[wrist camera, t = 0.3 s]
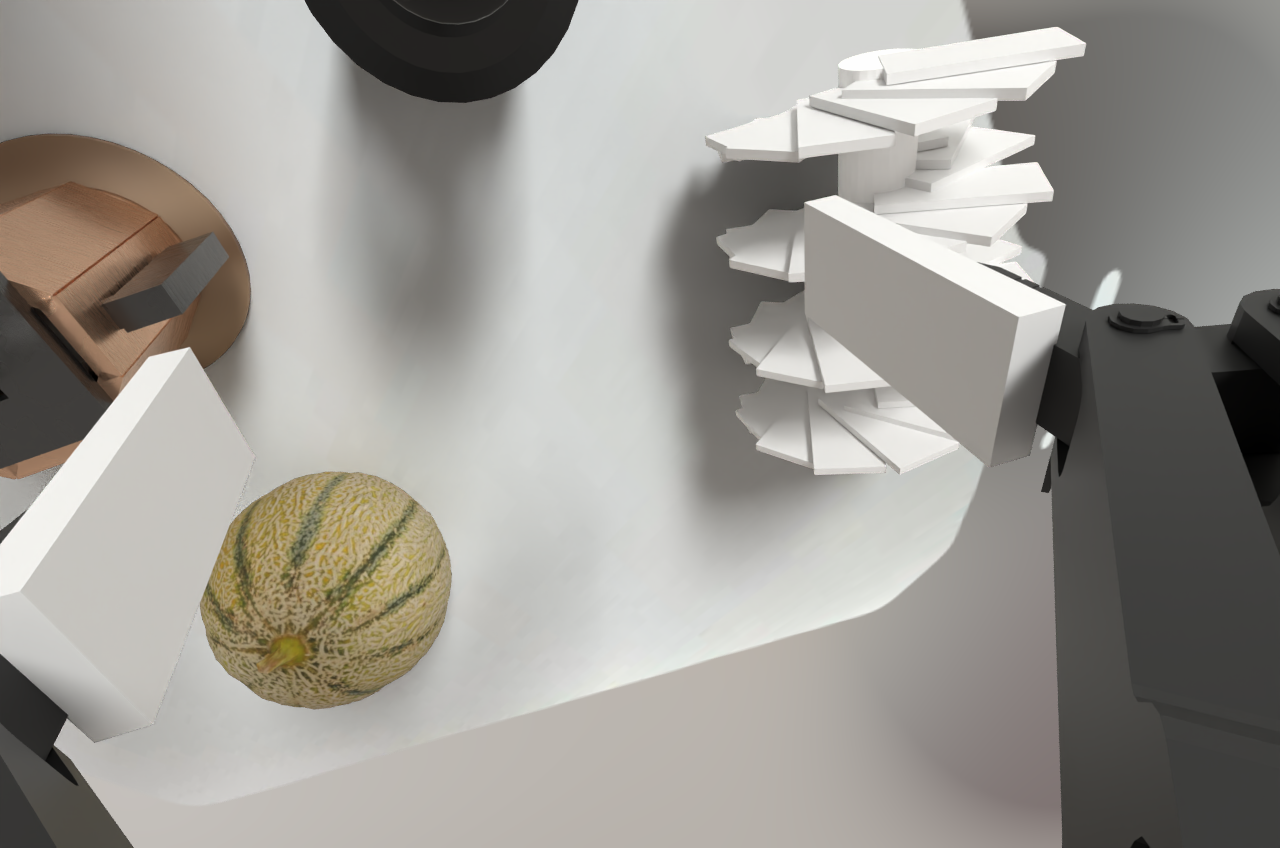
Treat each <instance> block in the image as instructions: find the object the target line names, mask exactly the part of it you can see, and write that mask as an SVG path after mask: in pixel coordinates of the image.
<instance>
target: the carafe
mask: <svg viewBox="0 0 1280 848" xmlns="http://www.w3.org/2000/svg"><path fill="white" fill-rule="evenodd" d="M228 258H229V256H228V254H227V252H226V251H225V249H224V248H223V246H222V245H221V243H220V242H219V240H218V239H217V237H216V235H215V234H214V232H210V233H207V234H204V235H201V236H198V237H195V238H192V239H189V240H186V241H182V240H181V238H180V237H179V236H178V234H177V233H176V232H175V231H174V230H173V229H172V228H171V227H170V226H169V225H168V224H167V223H165V222H164V221H163V219H162V218H161V216H159V217H158V214H156V213H153V212H151V211H150V210H148V209H147V208H145V207H143V206H141V205H140V204H138V203H136V202H134V201H132V200H130V199H128V198H125V197H123V196H121V195H118V194H115V193H112V192H109V191H105V190H101V189H96V188H90V187H86V186H84V185H81V184H78V183H76V182H71V181H70V182H67V183H64V184H61V185H58V186H55V187H52V188H48V189H44V190H40V191H37V192H35V193H32V194H30V195H27V196H24V197H21V198H17V199H14V200H11V201H8V202H5V203H2V204H0V389H1V390H2V391H3V392H4V393H5V394H3V395H0V476H2V477H6V478H11V479H16V478H17V479H21V478H23V477H26V476H29V475H32V474H35V473H38V472H40V471H43V470H46V469H49V468H52V467H54V466H57V465H60V464H63V463H65V462H66V461H67V460H68V458H69V457H70V456H71V454H72V453H73V452H74V451H75V449H76V448H77V447H78V446H79V444H80V443H81V442H82V441H83V439H84V438H85V437H86V436H87V434H88V433H89V432H90V430H91V429H92V428H93V427H94V425H95V424H96V423H97V422H98V420H99V419H100V418H101V417H102V415H103V414H104V413H105V412H106V410H107V409H108V408H109V406H110V405H111V404H112V403H113V401H114V400H115V399H116V398H117V396H118V395H119V394H120V393H121V391H122V390H123V389H124V388H125V386H126V385H127V384H128V383H129V381H130V380H131V379H132V377H133V376H134V375H135V374H136V372H137V371H138V370H139V369H140V367H141V366H142V365H143V364H144V362H145V361H146V360H147V359H148V357H150V356H154V355H159V354H163V353H167V352H171V351H176V350H178V349H179V347H180V346H181V345H182V343H183V342H184V341H185V339H186V338H187V337H188V334H189V330H190V327H191V323H192V320H193V317H194V315H195V313H196V311H197V308H198V306H199V301H200V296H201V291H202V290H203V289H204V287H205V286H206V285H207V284H208V282H209V281H210V280H211V279H212V277H213V276H214V275H215V274H216V273H217V271H218V270H219V269H220V268H221V266H222V265H223V264H224V263H225V262H226V260H227V259H228ZM32 307H34V308H38V309H40V310H41V311H42V312H43V313H44V314H45V315H46V317H47V318H48V319H49V320H50V321H51V322H52V323H53V325H54V326H55V327H56V328H57V329H58V330H59V332H60V333H61V334H62V335H63V336H64V337H65V339H66V340H67V341H68V342H69V343H70V344H71V345H72V347H73V348H74V349H75V350H76V351H77V352H78V354H79V355H80V356H81V357H82V358H83V359H84V361H85V362H86V363H87V364H88V365H89V366H90V367H91V369H92V370H93V371H94V374H93V377H92V376H91V375H90V374H89V372H88V371H87V370H86V369H85V368H84V367H83V366H82V364H81V363H80V362H79V361H78V360H77V359H76V358H75V356H74V355H73V354H72V353H71V352H70V351H69V349H68V348H67V347H66V346H65V345H64V344H63V343H62V341H61V340H60V339H59V338H58V337H57V336H56V335H55V333H54V332H53V331H52V330H51V329H50V328H49V327H48V325H47V324H46V323H45V322H44V321H43V320H42V318H41V317H40V316H39V315H38V314H37V313H36V312H35V310H34V309H33V308H32Z"/></svg>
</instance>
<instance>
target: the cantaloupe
mask: <svg viewBox="0 0 1280 848" xmlns="http://www.w3.org/2000/svg"><path fill="white" fill-rule="evenodd" d="M450 567H451V564H450V559H449V554H448V550H447V548H446V544H445V542H444V540H443V537H442V534H441V532H440V531H439V529H438V527H437V524H436V523H435V520H434V519H433V517H432V516H431V514H430V513H429V512H427V511H426V510H425V509H424V508H423V507H422V506H421V505H420V504H419V503H418V502H416V501H415V500H414V499H413V498H412V497H411V496H409V495H408V494H407V493H406V492H405V491H403V490H402V489H400V488H399V487H397V486H395V485H393V484H392V483H390V482H388V481H386V480H383V479H381V478H379V477H377V476H372V475H367V474H363V473H359V472H356V473H346V472H323V473H318V474H311V475H306V476H302V477H299V478H295V479H293V480H291V481H289V482H287V483H285V484H283V485H281V486H279V487H278V488H276V489H274V490H273V491H271V492H270V493H268V494H267V495H264V496H262V497H261V498H259V499H258V500H256V501H254V502H252V503H251V504H250V505H249V506H248V507H247V508H246V509H244V510H243V511H242V512H241V513H240V514H239V515H238V516H237V517H236V518H235V520H234V521H233V522H232V523H231V524H230V526H229V528H228V531H227V533H226V536H225V539H224V541H223V544H222V547H221V549H220V552H219V554H218V557H217V560H216V562H215V565H214V567H213V570H212V573H211V575H210V578H209V581H208V583H207V586H206V588H205V591H204V594H203V596H202V599H201V601H200V609H201V615H202V620H203V622H204V625H205V628H206V636H207V639H208V642H209V646H210V647H211V649H212V651H213V653H214V656H215V658H216V660H217V661H218V662H219V663H220V664H221V665H222V666H223V668H224V669H225V670H226V671H227V673H228V674H229V675H231V676H232V677H234V678H236V679H237V680H239V681H241V682H242V683H243V684H245V685H246V686H247V687H248V688H249V689H251V690H252V691H253V692H254V693H255V694H257V695H258V696H260V697H261V698H262V699H266V700H269V701H274V702H276V703H279V704H281V705H288V706H293V707H305V708H310V709H323V708H331V707H335V706H339V705H344V704H349V703H351V702H354V701H359V700H362V699H364V698H366V697H368V696H370V695H372V694H374V693H375V692H378V691H379V690H380V689H381V688H382V687H384V686H385V685H387V684H389V683H391V682H392V681H394V680H396V679H398V678H399V677H401V676H403V675H404V674H406V673H407V672H408V671H410V670H411V669H412V667H413V666H415V665H416V664H417V662H418V661H419V660H420V659H421V658H422V657H423V656H424V655H425V654H426V653H427V652H428V650H429V649H430V647H431V646H432V644H433V642H434V641H435V639H436V637H437V636H438V634H439V632H440V629H441V627H442V625H443V623H444V619H445V615H446V610H447V604H448V602H447V601H448V599H449V596H450V588H451V575H452V573H451V570H450Z"/></svg>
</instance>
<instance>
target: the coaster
mask: <svg viewBox="0 0 1280 848" xmlns="http://www.w3.org/2000/svg"><path fill="white" fill-rule="evenodd" d="M70 181H71V182H76V183H78V184H81V185H84V186H86V187H90V188H96V189H101V190H105V191H109V192H112V193H115V194H118V195H121V196H123V197H125V198H128V199H130V200H132V201H134V202H136V203H138V204H140V205H141V206H143V207H145V208H147V209H148V210H150V211H151V212H153V213H156V214H158V217H159V216H161V218H162V219H163V221H164V222H165V223H167V224H168V225H169V226H170V227H171V228H172V229H173V230H174V231H175V232H176V233H177V234H178V236H179V237H180V238H181V240H182V241H186V240H189V239H192V238H195V237H198V236H201V235H204V234H207V233H210V232H214V234H215V235H216V237H217V239H218V240H219V242H220V243H221V245H222V246H223V248H224V249H225V251H226V252H227V254H228V256H229V258H228V259H227V260H226V262H225V263H224V264H223V265H222V266H221V268H220V269H219V270H218V271H217V273H216V274H215V275H214V276H213V277H212V279H211V280H210V281H209V282H208V284H207V285H206V286H205V287H204V289H203V290H202V291H201V296H200V301H199V306H198V308H197V311H196V313H195V315H194V317H193V320H192V323H191V327H190V330H189V334H188V337H187V338H186V339H185V341H184V342H183V343H182V345H181V346H180V347H179V349H178V350H180V349H184V348H188V347H190V348H191V350H192V351H193V353H194V355H195V356H196V358H197V360H198V361H199V363H200V365H201V366H202V368H203V369H204V368H206V367H207V366H209V365H211V364H212V363H213V362H215V361H216V360H217V359H218V358H220V357H221V356H222V355H223V354H224V353H225V352H226V351H227V350H228V348H229V347H230V346H231V345H232V344H233V342H234V341H235V339H236V337H237V336H238V334H239V333H240V331H241V329H242V327H243V324H244V322H245V320H246V317H247V313H248V309H249V305H250V292H251V288H250V277H249V271H248V267H247V263H246V259H245V257H244V254H243V252H242V249H241V246H240V244H239V242H238V240H237V238H236V237H235V235H234V233H233V231H232V229H231V228H230V226H229V225H228V223H227V222H226V221H225V219H224V218H223V216H222V215H221V214H220V212H219V211H218V210H217V209H216V208H215V207H214V206H213V204H212V203H211V202H210V201H209V200H208V199H207V198H206V197H205V196H204V195H203V194H202V193H201V192H200V191H198V190H197V189H196V188H195V187H194V186H193V185H192V184H191V183H189V182H188V181H187V180H185V179H184V178H182V177H181V176H180V175H178V174H177V173H176V172H174V171H173V170H171V169H169V168H168V167H166V166H164V165H163V164H161V163H159V162H158V161H156V160H154V159H152V158H150V157H148V156H146V155H144V154H142V153H139V152H137V151H135V150H132V149H130V148H127V147H124V146H121V145H119V144H116V143H113V142H109V141H105V140H101V139H97V138H93V137H86V136H79V135H72V134H41V135H31V136H25V137H21V138H16V139H12V140H8V141H5V142H2V143H0V204H2V203H5V202H8V201H11V200H14V199H17V198H21V197H24V196H27V195H30V194H32V193H35V192H37V191H40V190H44V189H48V188H52V187H55V186H58V185H61V184H64V183H67V182H70Z"/></svg>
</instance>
